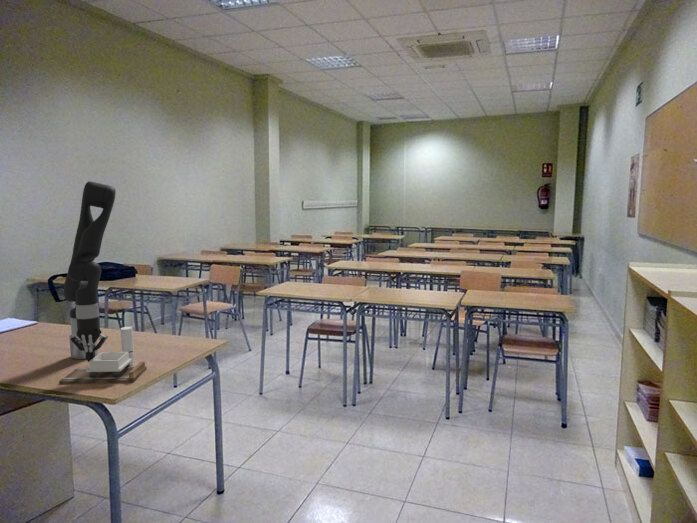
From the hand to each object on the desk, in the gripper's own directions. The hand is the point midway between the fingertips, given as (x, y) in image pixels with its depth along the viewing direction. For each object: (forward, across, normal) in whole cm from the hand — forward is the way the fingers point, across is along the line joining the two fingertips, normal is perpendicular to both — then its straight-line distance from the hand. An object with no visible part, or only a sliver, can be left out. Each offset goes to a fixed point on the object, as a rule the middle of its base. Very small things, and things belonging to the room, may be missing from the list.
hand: (90, 361), depth 185 cm
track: (+6, +5, 0) cm, 8 cm away
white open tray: (+4, +7, 0) cm, 8 cm away
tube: (+6, +8, +13) cm, 17 cm away
